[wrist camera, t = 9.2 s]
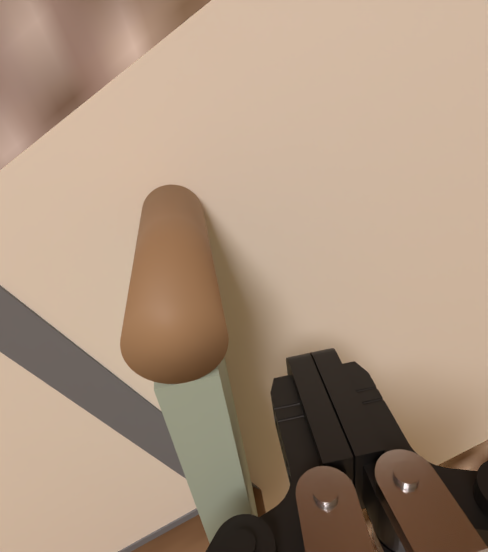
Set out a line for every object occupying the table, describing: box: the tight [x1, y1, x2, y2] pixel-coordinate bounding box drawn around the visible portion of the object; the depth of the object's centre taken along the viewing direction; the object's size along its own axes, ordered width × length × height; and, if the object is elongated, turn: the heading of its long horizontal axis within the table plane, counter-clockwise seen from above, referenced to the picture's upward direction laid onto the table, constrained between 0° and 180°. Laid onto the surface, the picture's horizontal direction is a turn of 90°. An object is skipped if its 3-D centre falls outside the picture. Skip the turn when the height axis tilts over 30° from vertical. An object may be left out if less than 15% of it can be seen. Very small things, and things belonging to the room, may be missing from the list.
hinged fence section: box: [120, 184, 258, 543], centre depth 13 cm, size 2×15×6 cm, turn 8°
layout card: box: [0, 0, 488, 552], centre depth 17 cm, size 24×34×1 cm
